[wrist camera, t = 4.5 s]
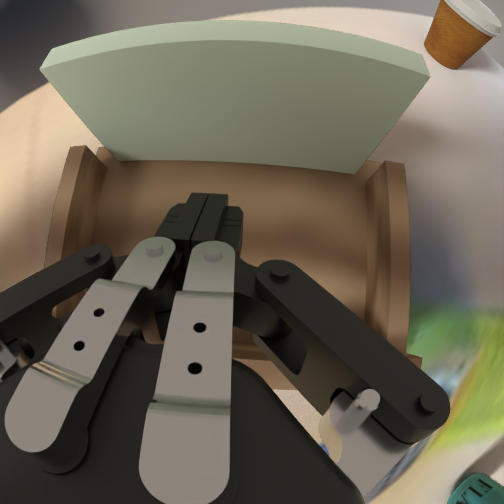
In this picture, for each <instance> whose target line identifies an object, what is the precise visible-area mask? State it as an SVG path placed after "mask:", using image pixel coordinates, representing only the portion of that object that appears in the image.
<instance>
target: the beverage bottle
mask: <svg viewBox="0 0 504 504" xmlns="http://www.w3.org/2000/svg"><path fill="white" fill-rule="evenodd" d="M486 475H487V474H482V473H476V474H473V475H471V476H469V477H468V478H466V479H465V480H464V481H463V482H462V483H461V484H460V485H459V486H458V487H457V488H456V489H455V490H454V492H453V493H452V494H451V496H450V498H449V500H448V502H447V504H504V487H503V486H502V485H500V483H497V482H496V481H494V480H492V479H491V478H492V477H488V476H489V475H488V476H486Z"/></svg>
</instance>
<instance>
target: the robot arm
mask: <svg viewBox="0 0 504 504" xmlns="http://www.w3.org/2000/svg"><path fill="white" fill-rule="evenodd" d="M243 216H244V213H243V211H242V210H241V208H240V207H238V206H228V194H217V193H210V194H209V193H197V192H192V193H191V194H190V196H189V198H188V200H187V201H186V203H178V204H176V205H175V206H173V207H172V208H170V210H169V211H168V213H167V215H166V217H165V218H164V220H163V222H162V223H161V225H160V227H159V228H158V230H157V232H156V233H155V235H154V237H151V238H147V239H145V240H143V241H141V242H140V243H138V244H137V245H136V247H135V248H134V249H133V251H132V252H131V253H130V255H123V256H115V257H113V255H112V251H111V249H110V248H109V247H108V246H106V245H101V244H97V245H91V246H88V247H86V248H84V249H82V250H80V251H78V252H76V253H74V254H72V255H70V256H68V257H66V258H64V259H62V260H60V261H58V262H56V263H54V264H52V265H50V266H48V267H46V268H45V269H43V270H41V271H39V272H37V273H35V274H33V275H32V276H30V277H28V278H26V279H24V280H23V281H21V282H19V283H17V284H15V285H14V286H12V287H10V288H8V289H7V290H5V291H3V292H2V293H0V504H365V502H364V499H363V496H364V495H365V494H367V493H368V492H369V491H370V490H371V489H372V488H373V487H374V486H375V485H376V484H377V483H378V482H379V481H380V480H381V479H382V478H383V477H384V476H385V475H386V474H387V473H388V472H389V471H390V470H391V469H392V467H393V466H394V465H395V464H396V463H397V462H398V461H399V460H400V459H401V458H402V456H403V455H404V454H405V453H406V452H407V451H408V450H409V449H410V448H411V447H413V446H414V445H416V444H417V443H419V442H420V441H422V440H423V439H425V438H426V437H427V436H429V435H430V434H432V433H433V432H434V431H436V430H437V429H438V428H440V427H441V426H442V425H443V424H444V423H445V422H446V421H447V419H448V417H449V414H450V402H449V398H448V396H447V394H446V392H445V391H444V390H443V388H442V387H441V386H439V385H438V384H437V383H436V382H435V381H434V380H432V379H431V378H430V377H429V376H428V375H427V374H426V373H424V372H423V371H422V370H421V369H420V368H419V367H417V366H416V365H415V364H414V363H413V362H412V361H410V360H409V359H408V358H407V357H406V356H405V355H403V354H402V353H401V352H400V351H399V350H397V349H396V348H395V347H394V346H393V345H392V344H390V343H389V342H388V341H387V340H386V339H384V338H383V337H382V336H381V335H380V334H379V333H377V332H376V331H375V330H374V329H373V328H371V327H370V326H369V325H368V324H367V323H365V322H364V321H363V320H362V319H361V318H359V317H358V316H357V315H356V314H355V313H353V312H352V311H351V310H350V309H349V308H347V307H346V306H345V305H344V304H343V303H341V302H340V301H339V300H338V299H337V298H335V297H334V296H333V295H332V294H330V293H329V292H328V291H327V290H326V289H324V288H323V287H322V286H321V285H320V284H318V283H317V282H316V281H315V280H313V279H312V278H311V277H310V276H309V275H307V274H306V273H305V272H304V271H302V270H301V269H300V268H299V267H297V266H296V265H295V264H293V263H291V262H288V261H285V260H268V261H265V262H263V263H262V264H260V265H259V266H258V267H256V266H253V265H250V264H248V263H246V262H245V261H243V260H242V259H241V258H240V255H241V248H242V236H243ZM83 290H84V291H85V296H84V297H83V299H82V300H81V301H80V303H79V304H78V306H77V307H76V309H75V310H74V311H72V312H70V313H68V314H67V315H65V316H63V317H61V318H55V317H54V316H53V315H52V311H53V309H54V307H55V306H56V305H58V304H60V303H61V302H63V301H65V300H67V299H68V298H70V297H72V296H74V295H76V294H77V293H79V292H81V291H83ZM233 326H234V327H237V328H240V329H242V330H245V331H248V332H251V337H252V340H253V341H254V342H255V343H256V345H257V346H258V347H259V348H260V349H261V350H262V351H263V352H264V354H265V355H266V356H267V357H268V358H269V359H270V360H271V361H272V363H273V364H274V365H275V366H276V367H277V368H278V369H279V370H280V371H281V373H282V374H283V375H284V376H285V377H286V378H287V379H288V380H289V381H290V382H291V383H292V385H293V386H294V387H295V388H296V389H297V390H298V391H299V392H300V393H301V394H302V395H303V396H304V397H305V398H306V399H307V401H308V402H309V403H310V404H311V405H312V406H313V407H314V408H315V409H316V410H317V411H318V412H319V413H320V414H321V415H322V416H323V417H322V418H321V420H320V423H319V434H320V437H321V439H322V441H323V442H324V443H325V445H326V446H327V448H328V451H329V456H328V455H327V453H326V452H325V451H324V450H323V449H322V448H321V447H320V446H319V444H318V443H317V442H316V441H315V440H314V439H313V438H312V437H311V435H310V434H309V433H308V432H307V431H306V430H305V428H304V427H303V426H302V425H301V424H300V423H299V421H298V420H297V419H296V418H295V417H294V416H293V414H292V413H291V412H290V411H289V410H288V408H287V407H286V406H285V405H284V404H283V402H282V401H281V400H280V399H279V397H278V396H277V395H276V394H275V393H274V391H273V390H272V389H271V388H270V386H269V385H268V384H267V383H266V381H265V380H264V379H263V378H262V377H261V376H260V375H259V374H258V373H257V372H255V371H254V370H253V369H251V368H250V367H248V366H247V365H245V364H243V363H241V362H239V361H237V360H235V359H232V350H233Z"/></svg>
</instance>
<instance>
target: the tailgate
mask: <svg viewBox="0 0 504 504" xmlns="http://www.w3.org/2000/svg"><path fill="white" fill-rule="evenodd" d="M40 71H41V72H42V73H43V74H44V76H45V77H46V78H47V79H48V81H49V82H50V83H51V84H52V86H53V87H54V88H55V89H56V90H57V92H58V93H59V94H60V95H61V96H62V98H63V99H64V100H65V101H66V102H67V104H68V105H69V106H70V107H71V108H72V110H73V111H74V112H75V113H76V114H77V116H78V117H79V118H80V119H81V120H82V121H83V123H84V124H85V125H86V126H87V127H88V128H89V130H90V131H91V132H92V133H93V134H94V135H95V137H96V138H97V139H98V140H99V141H100V142H101V143H102V145H103V146H104V147H105V148H106V149H107V150H108V151H109V153H110V154H111V155H112V156H113V157H114V158H115V159H116V160H117V161H135V160H187V161H218V162H238V163H254V164H267V165H279V166H290V167H300V168H309V169H318V170H326V171H334V172H342V173H349V174H355V173H356V172H357V171H358V170H359V168H360V167H361V166H362V165H363V163H364V162H365V161H366V160H367V158H368V157H369V156H370V155H371V153H372V152H373V151H374V150H375V148H376V147H377V146H378V145H379V143H380V142H381V141H382V139H383V138H384V137H385V136H386V134H387V133H388V132H389V131H390V129H391V128H392V127H393V125H394V124H395V123H396V122H397V120H398V119H399V118H400V116H401V115H402V114H403V112H404V111H405V110H406V109H407V107H408V106H409V105H410V103H411V102H412V101H413V99H414V98H415V97H416V95H417V94H418V93H419V92H420V90H421V89H422V88H423V86H424V85H425V84H426V82H427V81H428V80H429V78H430V77H431V76H430V74H429V71H428V68H427V66H426V63H425V61H424V58H423V56H422V55H421V54H419V53H416V52H413V51H410V50H407V49H404V48H401V47H398V46H395V45H391V44H388V43H385V42H381V41H378V40H374V39H370V38H366V37H362V36H358V35H354V34H349V33H344V32H340V31H334V30H329V29H323V28H317V27H311V26H304V25H296V24H287V23H277V22H263V21H239V20H215V21H192V22H178V23H168V24H159V25H151V26H144V27H138V28H132V29H126V30H122V31H116V32H112V33H107V34H103V35H98V36H94V37H90V38H86V39H83V40H79V41H76V42H72V43H69V44H66V45H63V46H59V47H56V48H53V49H52V50H51V52H50V53H49V54H48V56H47V58H46V59H45V61H44V63H43V65H42V66H41V68H40Z"/></svg>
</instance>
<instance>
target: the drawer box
mask: <svg viewBox="0 0 504 504" xmlns="http://www.w3.org/2000/svg"><path fill="white" fill-rule="evenodd" d="M192 192H197V193H209V194H210V193H217V194H228V206H238V207H240V208H241V210H242V211H243V213H244V216H243V236H242V248H241V255H240V258H241V259H242V260H243V261H245V262H246V263H248V264H250V265H253V266H256V267H258V266H259V265H260V264H262V263H263V262H265V261H268V260H285V261H288V262H291V263H293V264H295V265H296V266H297V267H299V268H300V269H301V270H302V271H304V272H305V273H306V274H307V275H309V276H310V277H311V278H312V279H313V280H315V281H316V282H317V283H318V284H320V285H321V286H322V287H323V288H324V289H326V290H327V291H328V292H329V293H330V294H332V295H333V296H334V297H335V298H337V299H338V300H339V301H340V302H341V303H343V304H344V305H345V306H346V307H347V308H349V309H350V310H351V311H352V312H353V313H355V314H356V315H357V316H358V317H359V318H361V319H362V320H363V321H364V322H365V323H367V324H368V325H369V326H370V327H371V328H373V329H374V330H375V331H376V332H377V333H379V334H380V335H381V336H382V337H383V338H384V339H386V340H387V341H388V342H389V343H390V344H392V345H393V346H394V347H395V348H396V349H397V350H399V351H400V352H401V353H402V354H403V355H405V356H406V357H407V358H408V359H409V360H410V361H412V362H413V363H414V364H415V365H416V366H417V367H419V368H420V369H421V364H422V358H421V357H418V356H415V355H411V354H408V353H406V348H407V338H408V326H409V311H410V286H411V247H410V222H409V207H408V195H407V185H406V176H405V168H404V164H400V163H395V162H390V161H385V162H384V163H383V164H382V165H381V166H380V163H378V162H373V161H367V160H366V161H365V162H364V163H363V165H362V166H361V167H360V168H359V170H358V171H357V172H356V173H355V174H349V173H342V172H334V171H326V170H318V169H309V168H300V167H290V166H279V165H267V164H254V163H238V162H218V161H187V160H135V161H117V160H116V159H115V158H114V157H113V156H112V155H111V154H110V153H109V151H108V150H107V149H106V148H105V147H98V151H97V154H96V155H95V154H94V153H93V152H92V151H91V150H90V149H89V148H88V147H87V146H86V145H84V146H74V147H70V149H69V153H68V156H67V159H66V162H65V166H64V169H63V173H62V177H61V180H60V184H59V188H58V192H57V197H56V201H55V205H54V210H53V215H52V220H51V225H50V231H49V236H48V243H47V249H46V256H45V264H44V269H45V268H46V267H48V266H50V265H52V264H54V263H56V262H58V261H60V260H62V259H64V258H66V257H68V256H70V255H72V254H74V253H76V252H78V251H80V250H82V249H84V248H86V247H88V246H91V245H97V244H101V245H106V246H108V247H109V248H110V249H111V251H112V255H113V257H115V256H123V255H130V253H131V252H132V251H133V249H134V248H135V247H136V245H137V244H138V243H140V242H141V241H143V240H145V239H147V238H151V237H154V235H155V233H156V232H157V230H158V228H159V227H160V225H161V223H162V222H163V220H164V218H165V217H166V215H167V213H168V211H169V210H170V208H172V207H173V206H175V205H176V204H178V203H186V201H187V200H188V198H189V196H190V194H191V193H192ZM84 296H85V291H84V290H83V291H81V292H79V293H77V294H76V295H74V296H72V297H70V298H68V299H67V300H65V301H63V302H61V303H60V304H58V305H56V306H55V307H54V309H53V311H52V315H53V316H54V317H55V318H61V317H63V316H65V315H67V314H68V313H70V312H72V311H74V310H75V309H76V307H77V306H78V304H79V303H80V301H81V300H82V299H83V297H84ZM232 359H235V360H237V361H239V362H241V363H243V364H245V365H247V366H248V367H250V368H251V369H253V370H254V371H255V372H257V373H258V374H259V375H260V376H261V377H262V378H263V379H264V380H265V381H266V383H267V384H268V385H269V386H270V388H271V389H280V390H297V389H296V388H295V387H294V386H293V385H292V383H291V382H290V381H289V380H288V379H287V378H286V377H285V376H284V375H283V374H282V373H281V371H280V370H279V369H278V368H277V367H276V366H275V365H274V364H273V363H272V361H271V360H270V359H269V358H268V357H267V356H266V355H265V354H264V352H263V351H262V350H261V349H260V348H259V347H258V346H257V345H256V343H255V342H254V341H253V340H252V337H251V332H248V331H245V330H242V329H240V328H237V327H234V326H233V350H232Z"/></svg>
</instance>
